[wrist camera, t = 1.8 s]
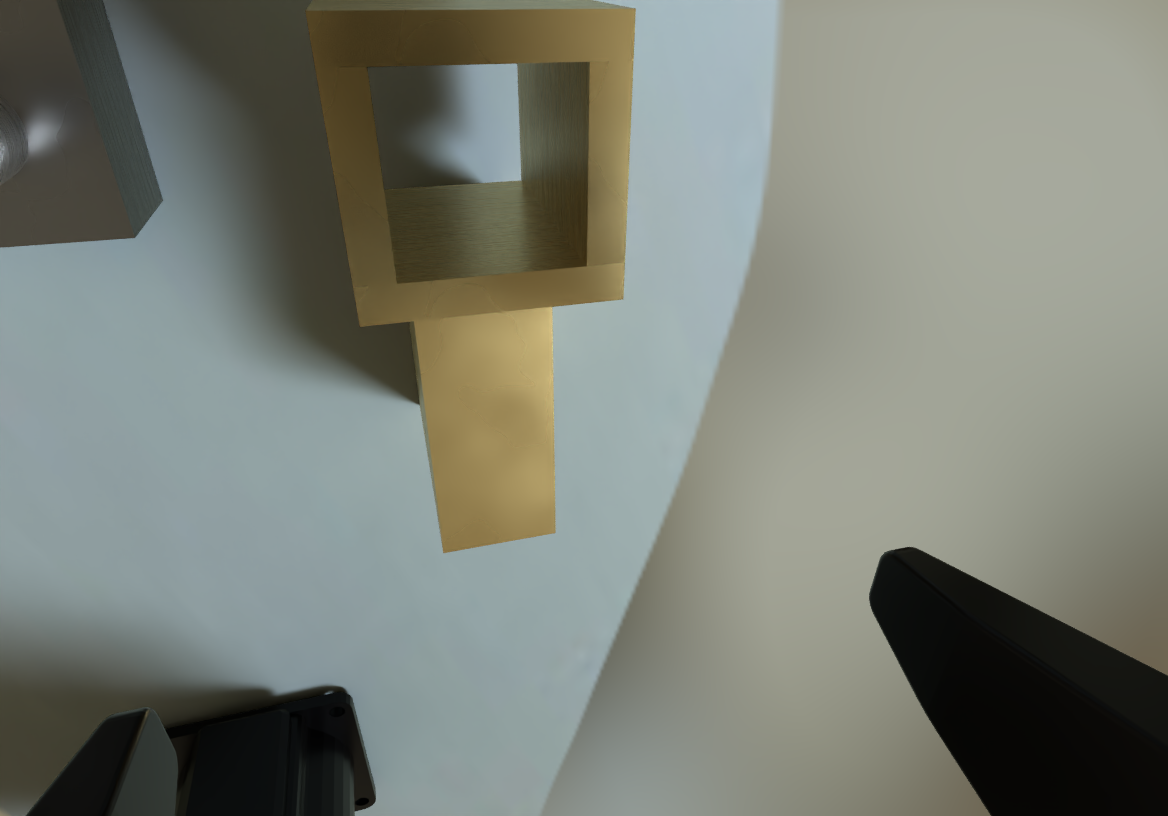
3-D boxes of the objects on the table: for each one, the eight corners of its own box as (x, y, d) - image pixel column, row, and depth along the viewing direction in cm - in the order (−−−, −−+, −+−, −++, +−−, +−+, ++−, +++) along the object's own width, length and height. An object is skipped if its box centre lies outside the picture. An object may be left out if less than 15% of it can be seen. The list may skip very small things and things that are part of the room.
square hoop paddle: (533, 390, 21) (611, 574, 14) (390, 409, 20) (409, 614, 14) (519, -15, 15) (635, 8, 9) (322, -15, 14) (304, 10, 8)
